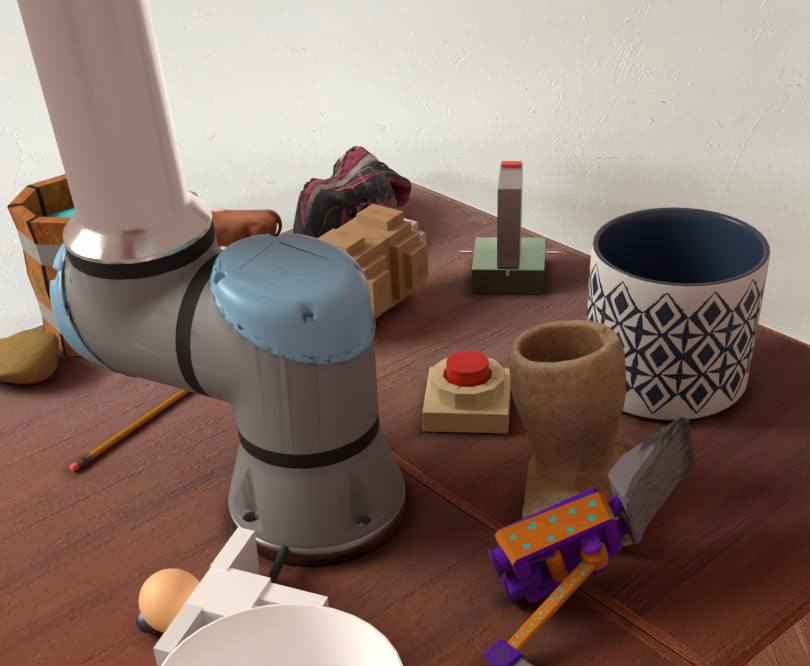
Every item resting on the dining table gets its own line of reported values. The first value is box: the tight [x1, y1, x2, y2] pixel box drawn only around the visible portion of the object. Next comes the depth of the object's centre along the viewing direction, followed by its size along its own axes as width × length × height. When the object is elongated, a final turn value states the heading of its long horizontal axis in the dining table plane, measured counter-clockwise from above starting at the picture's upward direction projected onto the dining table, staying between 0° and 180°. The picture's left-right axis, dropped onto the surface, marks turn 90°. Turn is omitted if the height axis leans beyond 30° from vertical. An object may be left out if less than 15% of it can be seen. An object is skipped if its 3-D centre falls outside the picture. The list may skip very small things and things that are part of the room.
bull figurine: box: [209, 206, 283, 248], centre depth 130 cm, size 4×13×8 cm, turn 85°
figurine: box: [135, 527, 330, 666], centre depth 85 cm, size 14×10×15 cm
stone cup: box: [507, 319, 639, 548], centre depth 93 cm, size 15×12×15 cm
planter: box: [585, 206, 771, 421], centre depth 107 cm, size 16×16×14 cm
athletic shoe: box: [292, 145, 413, 238], centre depth 135 cm, size 11×22×12 cm
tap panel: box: [458, 236, 560, 295], centre depth 128 cm, size 11×11×3 cm
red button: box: [446, 350, 489, 387], centre depth 106 cm, size 4×4×2 cm
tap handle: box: [496, 160, 524, 267], centre depth 124 cm, size 7×2×9 cm, turn 174°
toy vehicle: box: [483, 417, 696, 666], centre depth 83 cm, size 9×21×15 cm
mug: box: [6, 173, 199, 357], centre depth 120 cm, size 20×14×15 cm
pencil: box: [69, 389, 191, 472], centre depth 109 cm, size 19×1×1 cm, turn 146°
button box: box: [421, 356, 511, 434], centre depth 108 cm, size 8×8×4 cm
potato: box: [0, 328, 59, 385], centre depth 116 cm, size 7×8×8 cm
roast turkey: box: [318, 204, 430, 320], centre depth 121 cm, size 10×18×10 cm, turn 145°
